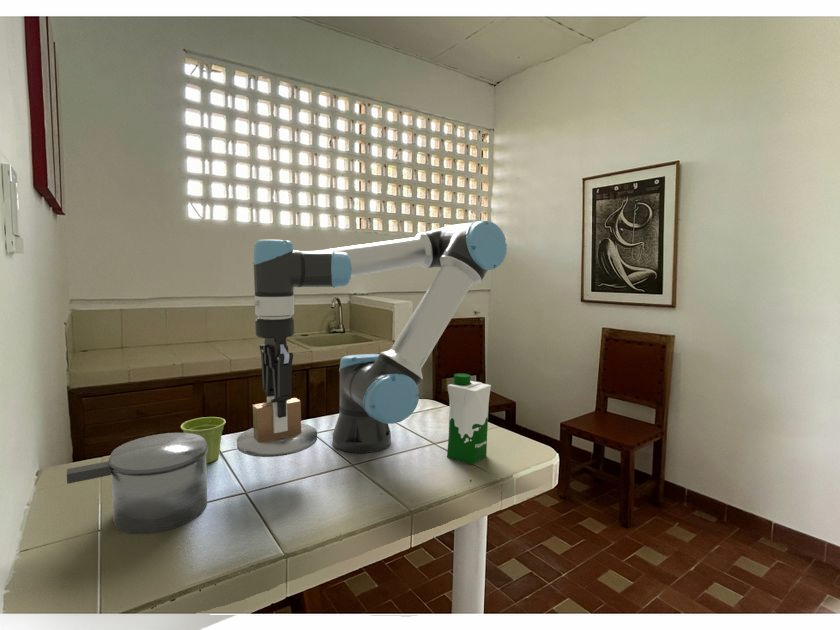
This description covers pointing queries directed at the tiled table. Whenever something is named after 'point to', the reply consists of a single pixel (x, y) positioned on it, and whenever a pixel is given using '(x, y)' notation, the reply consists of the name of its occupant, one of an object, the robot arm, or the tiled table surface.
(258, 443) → the lid
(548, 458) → the tiled table surface
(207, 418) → the plant pot
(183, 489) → the grey saucepan
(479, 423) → the milk carton
